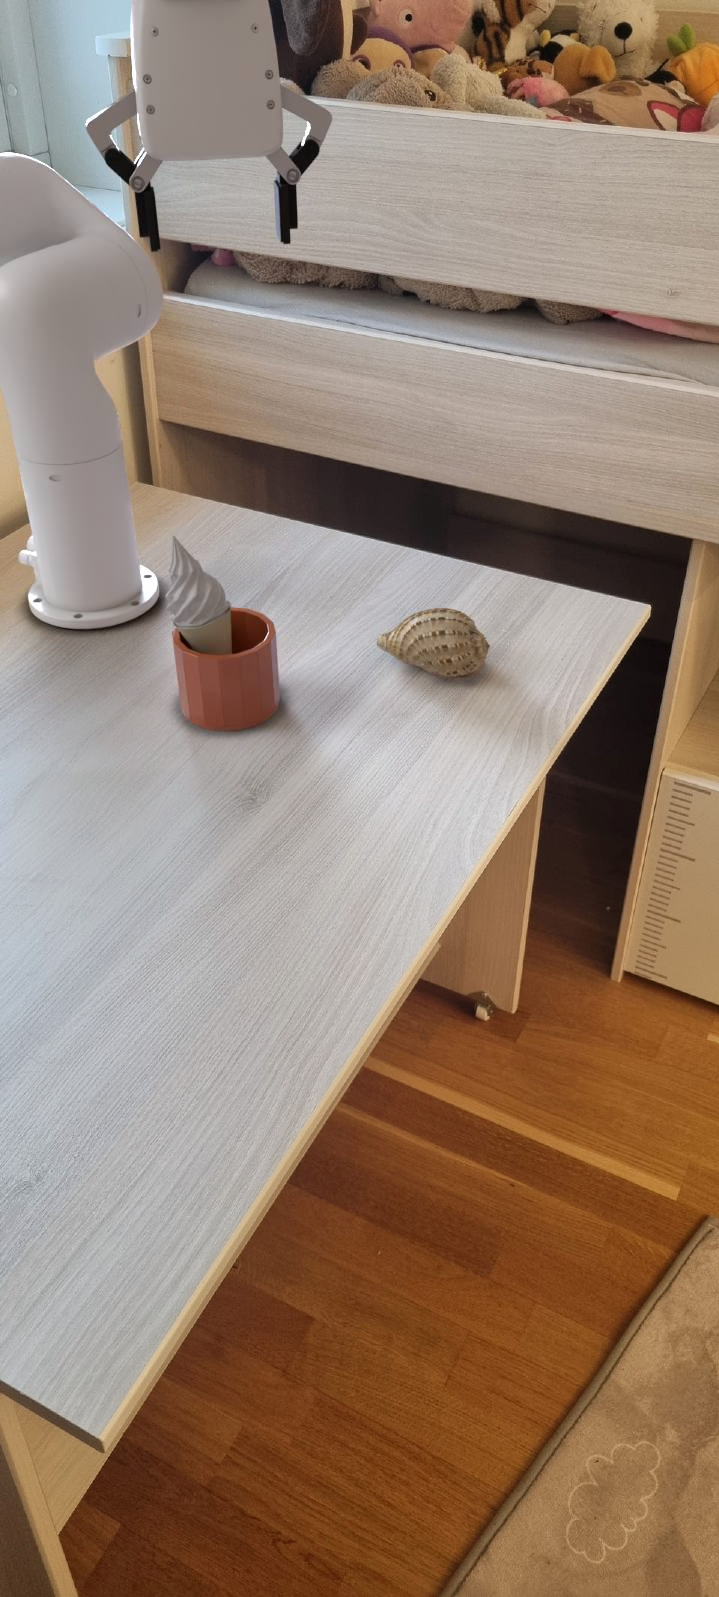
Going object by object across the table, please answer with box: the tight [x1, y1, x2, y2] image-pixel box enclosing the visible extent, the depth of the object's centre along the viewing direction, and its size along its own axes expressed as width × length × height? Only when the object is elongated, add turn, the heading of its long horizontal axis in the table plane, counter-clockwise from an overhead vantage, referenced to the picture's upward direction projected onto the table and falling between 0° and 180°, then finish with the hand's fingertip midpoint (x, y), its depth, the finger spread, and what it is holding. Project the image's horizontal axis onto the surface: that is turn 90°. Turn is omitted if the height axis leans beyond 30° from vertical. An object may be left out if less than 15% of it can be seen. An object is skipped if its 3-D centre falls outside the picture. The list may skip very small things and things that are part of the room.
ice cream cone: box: [164, 535, 233, 655], centre depth 98 cm, size 5×5×15 cm
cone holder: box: [171, 606, 281, 732], centre depth 100 cm, size 8×8×7 cm
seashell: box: [376, 607, 491, 679], centre depth 106 cm, size 8×6×10 cm
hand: (219, 243), depth 89 cm, fingers open, 9 cm apart
